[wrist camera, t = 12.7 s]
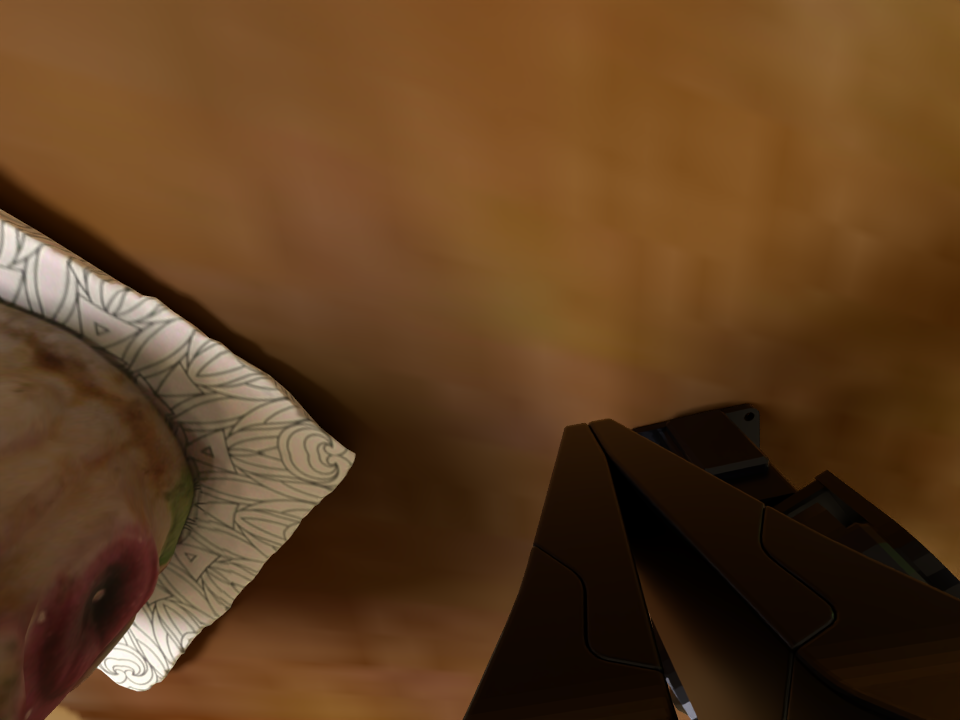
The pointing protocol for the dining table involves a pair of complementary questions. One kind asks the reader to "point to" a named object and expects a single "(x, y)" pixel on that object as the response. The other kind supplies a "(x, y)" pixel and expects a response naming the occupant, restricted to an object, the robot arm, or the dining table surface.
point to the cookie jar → (129, 476)
